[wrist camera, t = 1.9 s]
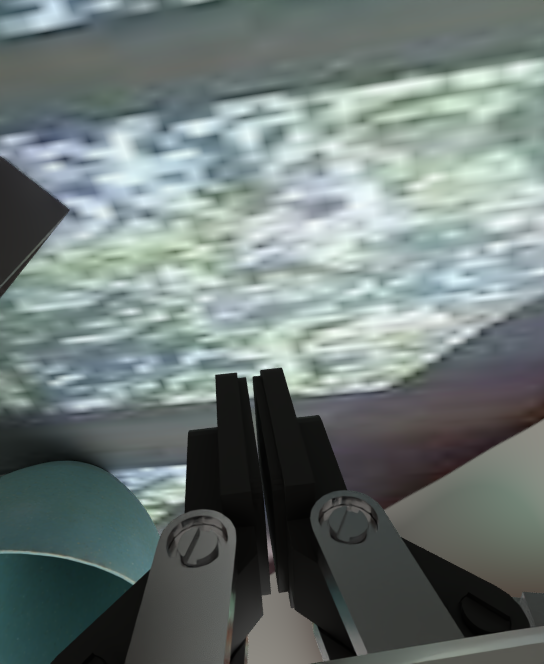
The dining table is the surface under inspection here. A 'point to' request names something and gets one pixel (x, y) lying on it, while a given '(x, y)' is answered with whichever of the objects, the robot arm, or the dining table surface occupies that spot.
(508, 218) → the dining table surface
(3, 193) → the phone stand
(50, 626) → the plant pot
